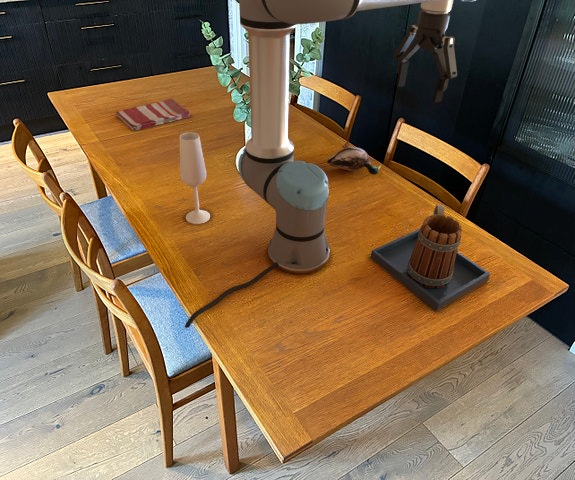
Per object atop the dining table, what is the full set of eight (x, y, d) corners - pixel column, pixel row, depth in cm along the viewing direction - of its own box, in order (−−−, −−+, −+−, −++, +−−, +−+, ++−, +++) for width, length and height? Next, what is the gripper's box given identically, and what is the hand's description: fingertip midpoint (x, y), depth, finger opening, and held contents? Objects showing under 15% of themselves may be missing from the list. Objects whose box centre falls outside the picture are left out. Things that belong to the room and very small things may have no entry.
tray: (436, 311, 103) (439, 303, 102) (370, 257, 117) (371, 250, 115) (487, 280, 111) (490, 273, 110) (420, 234, 125) (422, 227, 124)
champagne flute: (186, 210, 131) (176, 130, 116) (210, 209, 131) (203, 130, 116) (184, 224, 125) (173, 142, 111) (209, 223, 126) (202, 142, 111)
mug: (452, 293, 107) (470, 242, 98) (405, 285, 109) (419, 235, 99) (448, 251, 119) (463, 202, 110) (406, 245, 121) (417, 196, 111)
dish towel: (191, 116, 180) (191, 110, 178) (133, 131, 168) (132, 124, 167) (171, 102, 190) (170, 96, 188) (115, 115, 178) (114, 109, 177)
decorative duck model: (388, 160, 144) (350, 170, 137) (382, 180, 149) (345, 191, 142) (359, 136, 153) (321, 145, 146) (354, 156, 158) (318, 165, 151)
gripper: (486, 20, 111) (462, 106, 124) (409, -1, 127) (395, 77, 140) (466, 23, 108) (444, 111, 121) (389, 2, 123) (377, 82, 136)
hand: (417, 93), depth 130 cm, fingers open, 13 cm apart
